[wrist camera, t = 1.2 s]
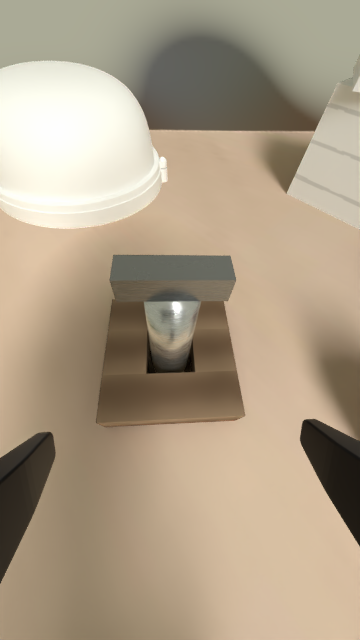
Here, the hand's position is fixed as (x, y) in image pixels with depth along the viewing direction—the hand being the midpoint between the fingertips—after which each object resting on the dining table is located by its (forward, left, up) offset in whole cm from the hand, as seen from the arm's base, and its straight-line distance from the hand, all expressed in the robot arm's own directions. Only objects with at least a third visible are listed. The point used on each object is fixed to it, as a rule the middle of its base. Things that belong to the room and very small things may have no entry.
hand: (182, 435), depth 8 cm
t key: (+7, +4, -13) cm, 15 cm away
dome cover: (+32, +35, -14) cm, 49 cm away
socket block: (+7, +4, -13) cm, 15 cm away
